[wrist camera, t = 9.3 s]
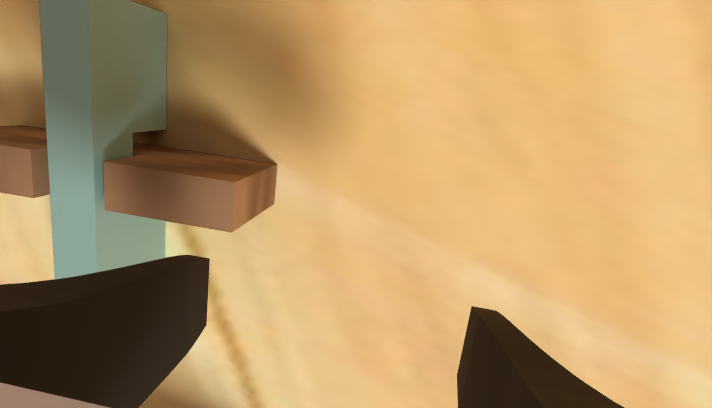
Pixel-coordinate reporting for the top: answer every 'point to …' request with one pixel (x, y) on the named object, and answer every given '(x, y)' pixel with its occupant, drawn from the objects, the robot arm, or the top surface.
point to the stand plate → (151, 181)
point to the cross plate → (99, 125)
